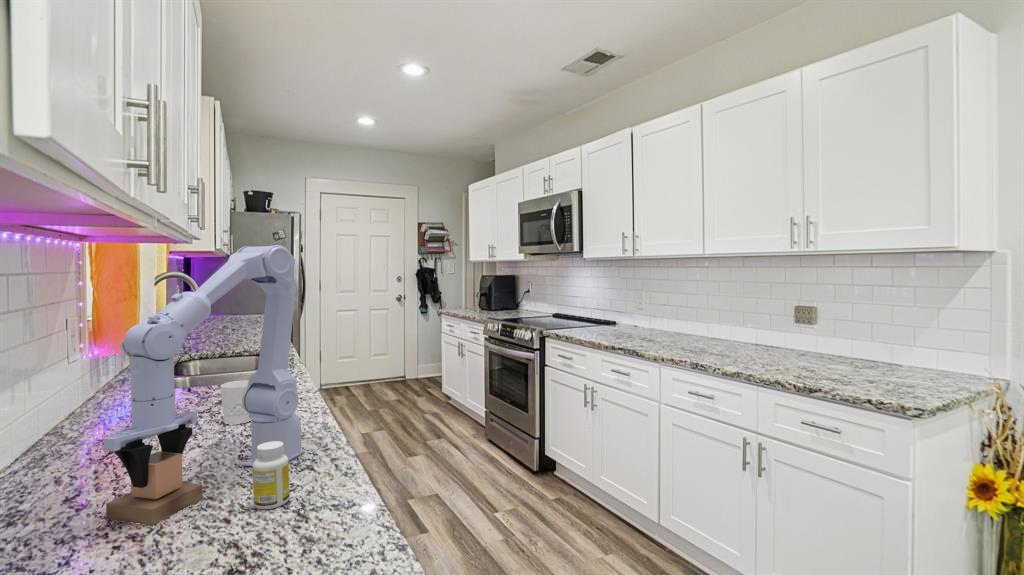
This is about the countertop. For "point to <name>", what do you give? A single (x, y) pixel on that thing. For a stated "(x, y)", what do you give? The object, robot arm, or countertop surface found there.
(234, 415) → the white cup
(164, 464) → the terracotta pot
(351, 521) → the countertop surface
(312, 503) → the countertop surface
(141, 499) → the walnut block
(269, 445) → the supplement bottle
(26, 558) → the countertop surface
